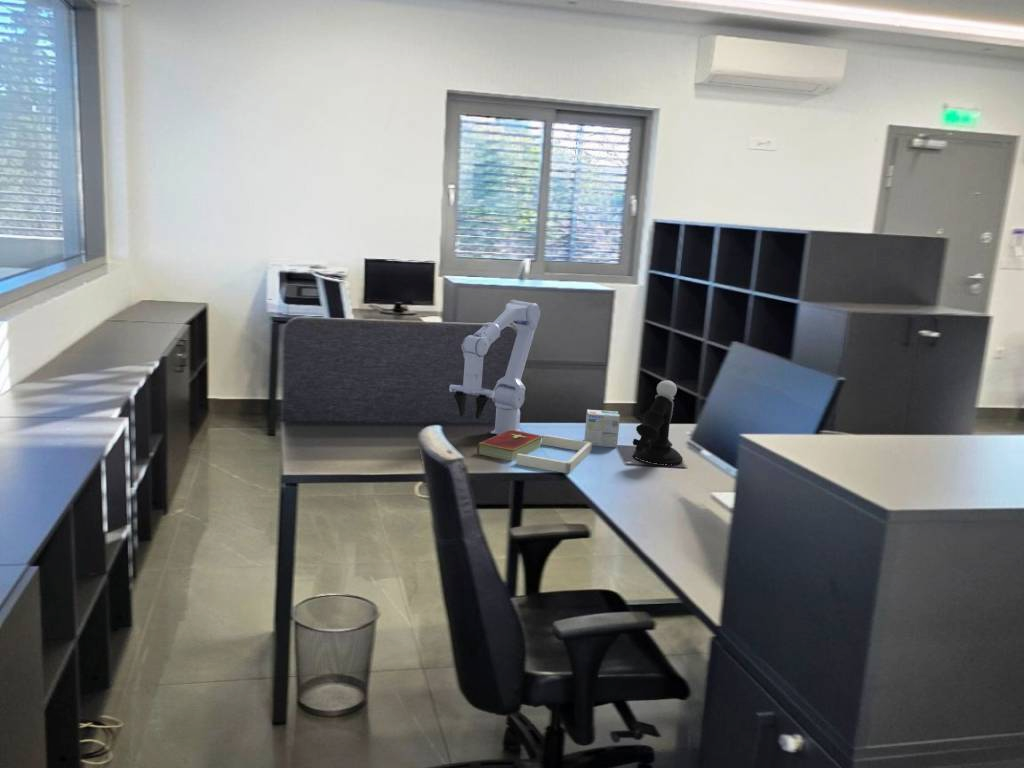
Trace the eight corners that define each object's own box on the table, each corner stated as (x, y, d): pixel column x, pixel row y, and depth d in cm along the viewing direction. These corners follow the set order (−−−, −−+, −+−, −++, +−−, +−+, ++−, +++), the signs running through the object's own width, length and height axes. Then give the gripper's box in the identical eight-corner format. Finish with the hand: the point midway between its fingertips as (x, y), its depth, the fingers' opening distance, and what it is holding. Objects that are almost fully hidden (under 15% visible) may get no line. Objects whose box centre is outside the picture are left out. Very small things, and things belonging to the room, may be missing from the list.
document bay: (542, 443, 276) (543, 434, 276) (591, 451, 271) (592, 442, 271) (516, 464, 252) (516, 454, 251) (569, 473, 247) (570, 463, 246)
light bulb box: (615, 442, 284) (618, 411, 282) (617, 448, 278) (620, 415, 276) (583, 440, 285) (586, 408, 282) (584, 445, 278) (587, 413, 276)
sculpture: (689, 458, 272) (699, 382, 267) (659, 475, 252) (669, 392, 247) (645, 448, 280) (653, 373, 275) (613, 463, 260) (621, 383, 255)
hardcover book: (476, 455, 259) (477, 441, 258) (508, 440, 278) (509, 428, 277) (512, 463, 254) (513, 449, 253) (541, 447, 273) (543, 435, 272)
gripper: (446, 373, 264) (443, 415, 267) (490, 379, 260) (487, 423, 263) (455, 369, 271) (452, 411, 274) (498, 376, 266) (495, 418, 269)
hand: (470, 416), depth 269 cm, fingers open, 5 cm apart
